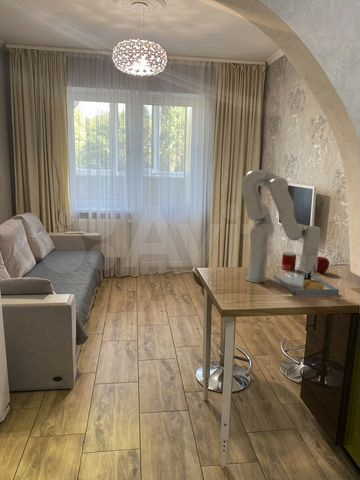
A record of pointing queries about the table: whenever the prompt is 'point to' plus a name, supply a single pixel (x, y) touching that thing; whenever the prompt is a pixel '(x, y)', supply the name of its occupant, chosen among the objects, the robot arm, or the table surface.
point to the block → (313, 284)
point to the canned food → (288, 261)
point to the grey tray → (307, 292)
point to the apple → (322, 265)
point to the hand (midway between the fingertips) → (306, 284)
